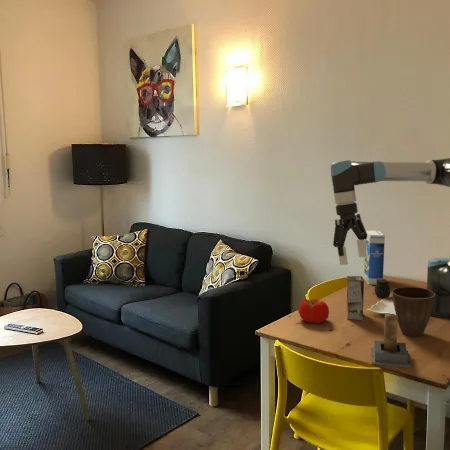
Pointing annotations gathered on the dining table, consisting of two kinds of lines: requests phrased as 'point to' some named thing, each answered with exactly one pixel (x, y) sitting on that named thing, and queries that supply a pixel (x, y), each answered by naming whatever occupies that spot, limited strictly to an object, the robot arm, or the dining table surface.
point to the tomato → (313, 310)
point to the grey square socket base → (390, 355)
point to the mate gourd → (382, 288)
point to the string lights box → (374, 256)
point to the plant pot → (413, 309)
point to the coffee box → (355, 297)
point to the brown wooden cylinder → (390, 332)
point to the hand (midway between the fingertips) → (353, 260)
